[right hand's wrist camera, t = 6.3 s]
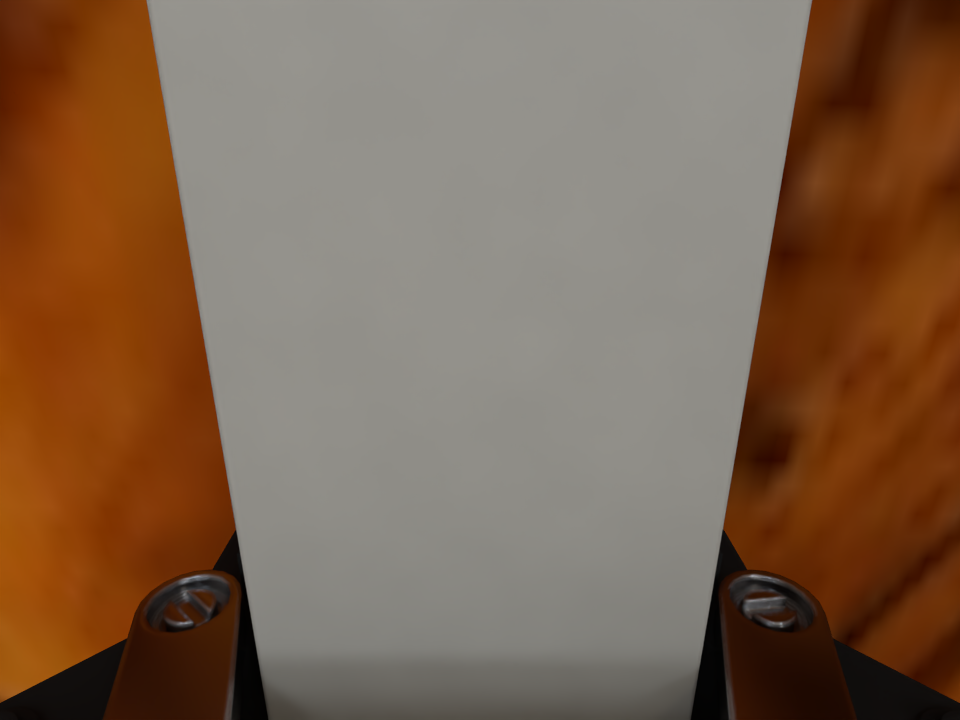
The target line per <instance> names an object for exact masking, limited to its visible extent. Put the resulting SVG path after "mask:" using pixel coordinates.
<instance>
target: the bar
mask: <svg viewBox="0 0 960 720" xmlns="http://www.w3.org/2000/svg"><path fill="white" fill-rule="evenodd" d="M811 3H812V0H147V5H148V11H149V17H150V23H151V29H152V35H153V41H154V47H155V52H156V58H157V64H158V70H159V76H160V82H161V88H162V94H163V100H164V106H165V112H166V117H167V123H168V129H169V135H170V141H171V147H172V153H173V159H174V165H175V171H176V176H177V182H178V188H179V194H180V200H181V206H182V212H183V218H184V224H185V230H186V236H187V241H188V247H189V253H190V259H191V265H192V271H193V277H194V283H195V289H196V295H197V300H198V306H199V312H200V318H201V324H202V330H203V336H204V342H205V348H206V354H207V360H208V365H209V371H210V377H211V383H212V389H213V395H214V401H215V407H216V413H217V419H218V424H219V430H220V436H221V442H222V448H223V454H224V460H225V466H226V472H227V478H228V484H229V489H230V495H231V501H232V507H233V513H234V519H235V525H236V531H237V537H238V543H239V548H240V554H241V560H242V566H243V572H244V578H245V584H246V590H247V596H248V602H249V608H250V613H251V619H252V625H253V631H254V637H255V643H256V649H257V655H258V661H259V667H260V672H261V678H262V684H263V690H264V696H265V702H266V708H267V714H268V720H691V714H692V708H693V702H694V697H695V691H696V685H697V679H698V673H699V667H700V661H701V655H702V649H703V643H704V637H705V631H706V625H707V619H708V614H709V608H710V602H711V596H712V590H713V584H714V578H715V572H716V566H717V560H718V554H719V548H720V542H721V536H722V531H723V525H724V519H725V513H726V507H727V501H728V495H729V489H730V483H731V477H732V471H733V465H734V459H735V453H736V447H737V442H738V436H739V430H740V424H741V418H742V412H743V406H744V400H745V394H746V388H747V382H748V376H749V370H750V364H751V359H752V353H753V347H754V341H755V335H756V329H757V323H758V317H759V311H760V305H761V299H762V293H763V287H764V281H765V276H766V270H767V264H768V258H769V252H770V246H771V240H772V234H773V228H774V222H775V216H776V210H777V204H778V198H779V192H780V187H781V181H782V175H783V169H784V163H785V157H786V151H787V145H788V139H789V133H790V127H791V121H792V115H793V109H794V104H795V98H796V92H797V86H798V80H799V74H800V68H801V62H802V56H803V50H804V44H805V38H806V32H807V26H808V21H809V15H810V9H811Z"/></svg>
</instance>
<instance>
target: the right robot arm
mask: <svg viewBox="0 0 960 720" xmlns="http://www.w3.org/2000/svg"><path fill="white" fill-rule="evenodd" d="M0 720H268V714H267V708H266V702H265V696H264V690H263V684H262V678H261V672H260V667H259V661H258V655H257V649H256V643H255V637H254V631H253V625H252V619H251V613H250V608H249V602H248V596H247V590H246V584H245V578H244V572H243V566H242V560H241V554H240V548H239V543H238V537H237V531H236V530H235V532H234V534H233V536H232V537H231V539H230V541H229V542H228V544H227V546H226V547H225V549H224V551H223V552H222V554H221V556H220V558H219V559H218V561H217V563H216V564H215V566H214V568H213V569H212V570H201V571H193V572H190V573H186V574H182V575H179V576H177V577H175V578H172V579H170V580H168V581H166V582H164V583H162V584H161V585H159V586H158V587H156V588H155V589H154V590H152V591H151V592H150V593H149V594H148V595H147V596H146V597H145V598H144V599H143V600H142V601H141V602H140V604H139V606H138V608H137V610H136V612H135V615H134V618H133V621H132V624H131V628H130V631H129V634H128V638H127V639H125V640H123V641H121V642H119V643H117V644H115V645H113V646H111V647H109V648H107V649H105V650H103V651H101V652H99V653H97V654H95V655H93V656H92V657H90V658H88V659H86V660H84V661H82V662H80V663H78V664H76V665H74V666H72V667H70V668H68V669H66V670H64V671H62V672H60V673H58V674H56V675H54V676H52V677H50V678H48V679H46V680H44V681H43V682H41V683H39V684H37V685H35V686H33V687H31V688H29V689H27V690H25V691H23V692H21V693H19V694H17V695H15V696H13V697H11V698H9V699H7V700H5V701H3V702H1V703H0ZM691 720H960V703H958V702H956V701H954V700H952V699H950V698H949V697H947V696H945V695H943V694H941V693H939V692H937V691H935V690H933V689H931V688H929V687H927V686H925V685H923V684H921V683H919V682H917V681H915V680H913V679H911V678H909V677H907V676H905V675H903V674H901V673H899V672H898V671H896V670H894V669H892V668H890V667H888V666H886V665H884V664H882V663H880V662H878V661H876V660H874V659H872V658H870V657H868V656H866V655H864V654H862V653H860V652H858V651H856V650H854V649H852V648H850V647H848V646H847V645H845V644H843V643H841V642H839V641H837V640H835V639H833V638H832V634H831V631H830V628H829V624H828V621H827V618H826V615H825V612H824V610H823V608H822V606H821V604H820V602H819V601H818V600H817V599H816V598H815V597H814V596H813V595H812V594H811V593H810V592H809V591H808V590H806V589H805V588H804V587H802V586H801V585H799V584H798V583H796V582H794V581H792V580H790V579H788V578H785V577H783V576H781V575H778V574H774V573H770V572H767V571H759V570H747V569H746V567H745V565H744V563H743V562H742V560H741V558H740V557H739V555H738V553H737V552H736V550H735V548H734V547H733V545H732V543H731V541H730V540H729V538H728V536H727V535H726V533H725V531H724V530H723V531H722V536H721V542H720V548H719V554H718V560H717V566H716V572H715V578H714V584H713V590H712V596H711V602H710V608H709V614H708V619H707V625H706V631H705V637H704V643H703V649H702V655H701V661H700V667H699V673H698V679H697V685H696V691H695V697H694V702H693V708H692V714H691Z"/></svg>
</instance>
